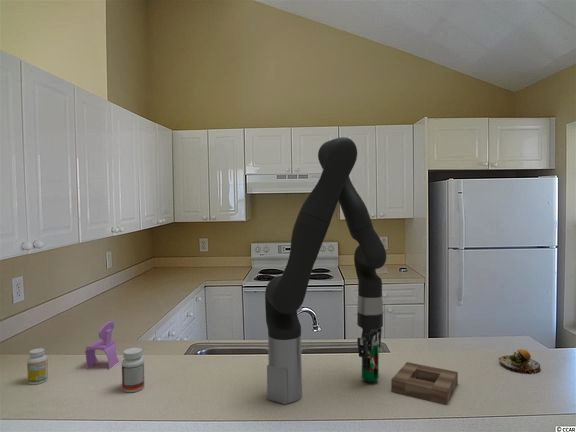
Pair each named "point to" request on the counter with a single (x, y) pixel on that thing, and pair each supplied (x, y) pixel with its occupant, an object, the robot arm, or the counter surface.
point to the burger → (521, 362)
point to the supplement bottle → (37, 367)
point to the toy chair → (103, 347)
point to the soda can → (372, 365)
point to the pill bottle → (132, 370)
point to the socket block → (425, 382)
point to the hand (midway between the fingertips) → (370, 366)
